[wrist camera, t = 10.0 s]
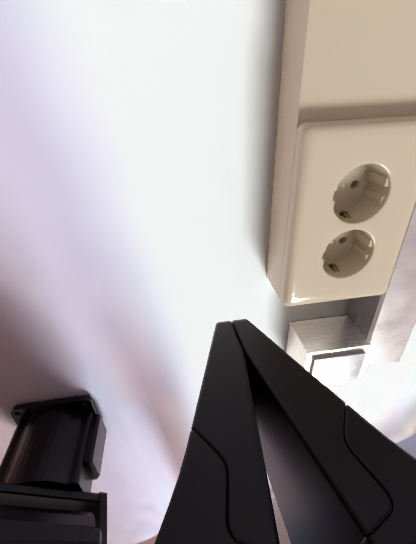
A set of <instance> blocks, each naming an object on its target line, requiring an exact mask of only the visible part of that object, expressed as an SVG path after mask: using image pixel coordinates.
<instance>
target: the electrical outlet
mask: <svg viewBox="0 0 416 544" xmlns="http://www.w3.org/2000/svg"><path fill="white" fill-rule="evenodd" d="M415 203H416V0H286V8H285V22H284V36H283V50H282V65H281V79H280V93H279V107H278V121H277V135H276V150H275V164H274V178H273V192H272V206H271V221H270V235H269V249H268V263H267V278H268V280H269V281H270V283H271V285H272V286H273V288H274V290H275V292H276V293H277V295H278V297H279V298H280V300H281V302H282V303H283V304H284V305H286V306H296V305H304V304H312V303H320V302H328V301H336V300H344V299H351V298H359V297H367V296H375V295H382V294H384V293H385V292H386V291H387V288H388V285H389V282H390V279H391V276H392V273H393V270H394V267H395V264H396V260H397V257H398V254H399V251H400V248H401V245H402V242H403V239H404V236H405V233H406V230H407V227H408V224H409V221H410V218H411V215H412V212H413V209H414V206H415Z"/></svg>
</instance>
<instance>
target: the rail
mask: <svg viewBox="0 0 416 544" xmlns="http://www.w3.org/2000/svg"><path fill="white" fill-rule="evenodd" d="M415 323H416V203H415V206H414V209H413V212H412V215H411V218H410V221H409V224H408V227H407V230H406V233H405V236H404V239H403V242H402V245H401V248H400V251H399V254H398V257H397V260H396V264H395V267H394V270H393V273H392V276H391V279H390V282H389V285H388V288H387V291H386V292H385V293H384V294H382V295H375V296H367V297H359V298H351V300H350V304H349V308H348V311H347V315H343V316H335V317H327V318H319V319H311V320H304V321H296V322H290V324H289V332H288V339H287V346H286V353H287V354H288V355H289V356H291V357H292V358H293V359H294V360H295V361H297V362H298V363H299V364H300V365H301V366H302V367H304V368H305V369H306V370H307V371H308V372H309V373H311V374H312V375H313V376H314V377H315V378H317V379H318V380H319V381H320V382H321V383H322V384H324V385H331V384H338V383H344V382H351V381H358V380H360V377H361V374H362V371H363V368H364V366H371V365H378V364H385V363H391V362H398V361H399V360H400V358H401V356H402V353H403V351H404V349H405V346H406V344H407V341H408V339H409V337H410V334H411V332H412V330H413V327H414V325H415Z"/></svg>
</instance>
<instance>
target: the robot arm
mask: <svg viewBox="0 0 416 544" xmlns="http://www.w3.org/2000/svg"><path fill="white" fill-rule="evenodd" d="M11 415H12V417H13V418H14V420H15V422H16V423H17V427H16V430H15V432H14V435H13V437H12V439H11V442H10V444H9V446H8V449H7V451H6V453H5V456H4V458H3V460H2V463H1V465H0V544H107V493H103V492H99V493H91V492H90V491H91V485H92V480H94V479H97V478H98V477H99V476H100V470H101V464H102V457H103V451H104V444H105V439H106V428H105V426H104V423H103V420H102V417H101V415H100V414H98V413H97V410H96V408H95V405H94V402H93V400H92V398H91V397H89V396H81V397H74V398H67V399H60V400H53V401H46V402H39V403H32V404H25V405H18V406H15V407H13V409H12V411H11ZM266 471H267V473H266ZM267 474H268V477H269V480H270V483H271V486H272V489H273V492H274V495H275V498H276V501H277V504H278V507H279V509H280V512H281V515H282V518H283V521H284V524H285V527H286V530H287V533H288V536H289V539H290V542H291V544H416V459H415V458H414V457H413V456H411V455H410V454H409V453H407V452H406V451H405V450H403V449H402V448H401V447H399V446H398V445H397V444H395V443H394V442H393V441H391V440H390V439H389V438H387V437H386V436H385V435H384V434H382V433H381V432H380V431H379V430H377V429H376V428H375V427H374V426H373V425H371V424H370V423H369V422H368V421H366V420H365V419H364V418H363V417H361V416H360V415H359V414H358V413H357V412H356V411H354V410H353V409H352V408H351V407H350V406H348V405H346V406H345V402H344V401H342V400H341V399H340V398H339V397H338V396H337V395H335V394H334V393H333V392H332V391H331V390H329V389H328V388H327V387H326V386H325V385H324V384H322V383H321V382H320V381H319V380H318V379H317V378H315V377H314V376H313V375H312V374H311V373H309V372H308V371H307V370H306V369H305V368H304V367H302V366H301V365H300V364H299V363H298V362H297V361H295V360H294V359H293V358H292V357H291V356H289V355H288V354H287V353H286V352H285V351H284V350H282V349H281V348H280V347H279V346H278V345H276V344H275V343H274V342H273V341H272V340H271V339H269V338H268V337H267V336H266V335H265V334H264V333H262V332H261V331H260V330H259V329H258V328H256V327H255V326H254V325H253V324H252V323H251V322H249V321H248V320H246V319H241V320H234V321H232V322H230V321H225V322H218V323H217V324H216V327H215V331H214V336H213V340H212V344H211V348H210V352H209V357H208V361H207V365H206V369H205V373H204V378H203V382H202V386H201V390H200V395H199V399H198V403H197V407H196V411H195V416H194V420H193V424H192V431H191V432H190V436H189V440H188V444H187V448H186V452H185V455H184V459H183V463H182V466H181V470H180V474H179V477H178V480H177V483H176V486H175V489H174V492H173V494H172V497H171V500H170V503H169V506H168V509H167V512H166V514H165V517H164V520H163V522H162V525H161V528H160V530H159V533H158V536H157V538H156V541H155V544H279V538H278V532H277V527H276V522H275V516H274V510H273V505H272V500H271V494H270V489H269V483H268V478H267Z"/></svg>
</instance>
